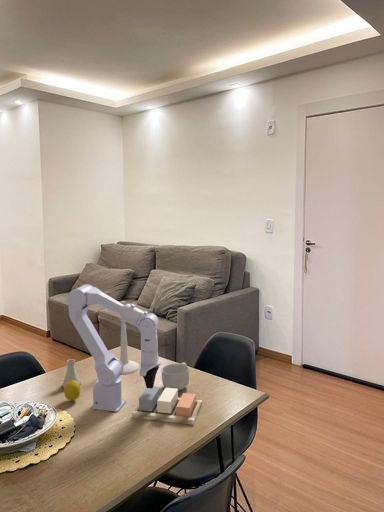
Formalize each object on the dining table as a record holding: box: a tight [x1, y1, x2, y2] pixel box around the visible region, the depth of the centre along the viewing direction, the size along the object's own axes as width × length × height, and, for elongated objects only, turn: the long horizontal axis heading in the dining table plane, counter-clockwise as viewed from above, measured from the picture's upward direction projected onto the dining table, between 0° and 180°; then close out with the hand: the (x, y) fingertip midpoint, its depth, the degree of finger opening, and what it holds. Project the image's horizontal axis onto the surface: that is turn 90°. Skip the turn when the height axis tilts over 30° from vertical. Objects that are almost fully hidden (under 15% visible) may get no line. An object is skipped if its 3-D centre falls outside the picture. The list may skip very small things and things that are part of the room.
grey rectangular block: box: [138, 385, 161, 412], centre depth 142 cm, size 4×10×4 cm, turn 167°
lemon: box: [64, 380, 81, 402], centre depth 147 cm, size 6×6×8 cm
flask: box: [62, 358, 82, 389], centre depth 160 cm, size 7×7×10 cm
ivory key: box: [156, 387, 179, 414], centre depth 140 cm, size 4×10×4 cm, turn 167°
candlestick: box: [118, 300, 140, 375], centre depth 175 cm, size 13×13×30 cm
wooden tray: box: [131, 397, 203, 426], centre depth 141 cm, size 21×14×2 cm, turn 77°
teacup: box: [160, 362, 190, 392], centre depth 159 cm, size 14×11×8 cm
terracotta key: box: [175, 392, 197, 417], centre depth 139 cm, size 4×10×4 cm, turn 167°
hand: (149, 387), depth 141 cm, fingers closed
